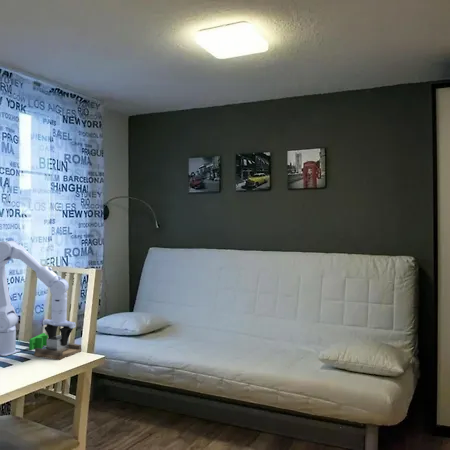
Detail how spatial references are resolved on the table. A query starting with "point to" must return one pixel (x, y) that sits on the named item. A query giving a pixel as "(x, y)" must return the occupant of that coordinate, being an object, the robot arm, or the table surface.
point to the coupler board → (58, 352)
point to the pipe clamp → (38, 341)
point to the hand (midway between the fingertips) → (58, 344)
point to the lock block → (56, 343)
